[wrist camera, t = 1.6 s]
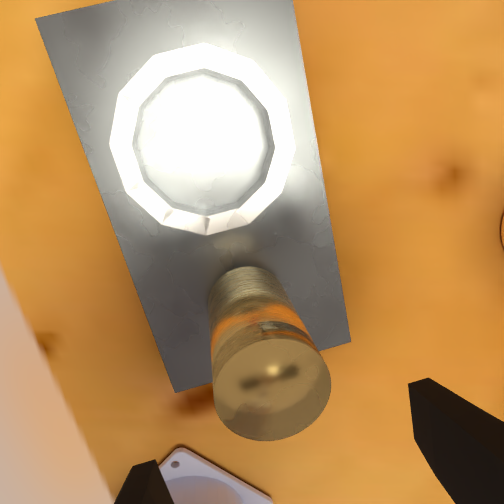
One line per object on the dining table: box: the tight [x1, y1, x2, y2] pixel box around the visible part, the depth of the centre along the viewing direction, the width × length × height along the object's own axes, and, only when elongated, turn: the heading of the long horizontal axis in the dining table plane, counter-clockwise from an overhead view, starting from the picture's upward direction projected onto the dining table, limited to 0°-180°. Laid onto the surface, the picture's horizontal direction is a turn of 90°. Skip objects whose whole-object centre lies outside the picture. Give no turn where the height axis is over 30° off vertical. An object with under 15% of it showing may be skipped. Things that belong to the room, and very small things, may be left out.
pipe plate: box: [35, 0, 351, 393], centre depth 17 cm, size 18×10×2 cm, turn 13°
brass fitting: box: [208, 266, 331, 441], centre depth 16 cm, size 4×4×7 cm
